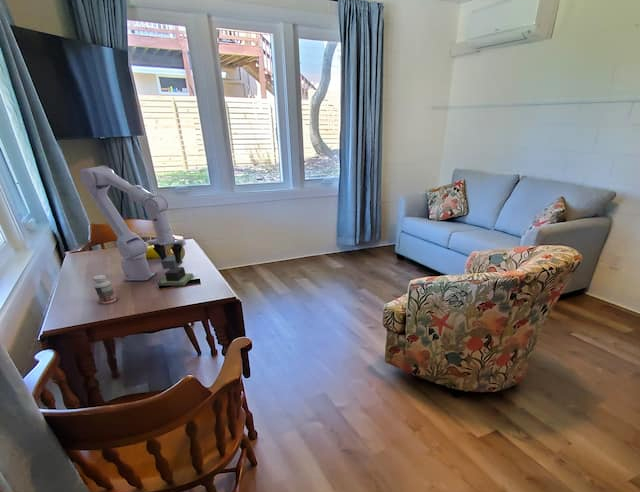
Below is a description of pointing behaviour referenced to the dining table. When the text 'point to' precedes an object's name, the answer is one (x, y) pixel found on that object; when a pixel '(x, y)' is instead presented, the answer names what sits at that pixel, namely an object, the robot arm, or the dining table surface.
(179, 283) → the base pad
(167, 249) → the stone disc
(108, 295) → the pill bottle
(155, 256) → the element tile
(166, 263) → the grey block
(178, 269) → the black rectangular block
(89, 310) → the dining table surface
